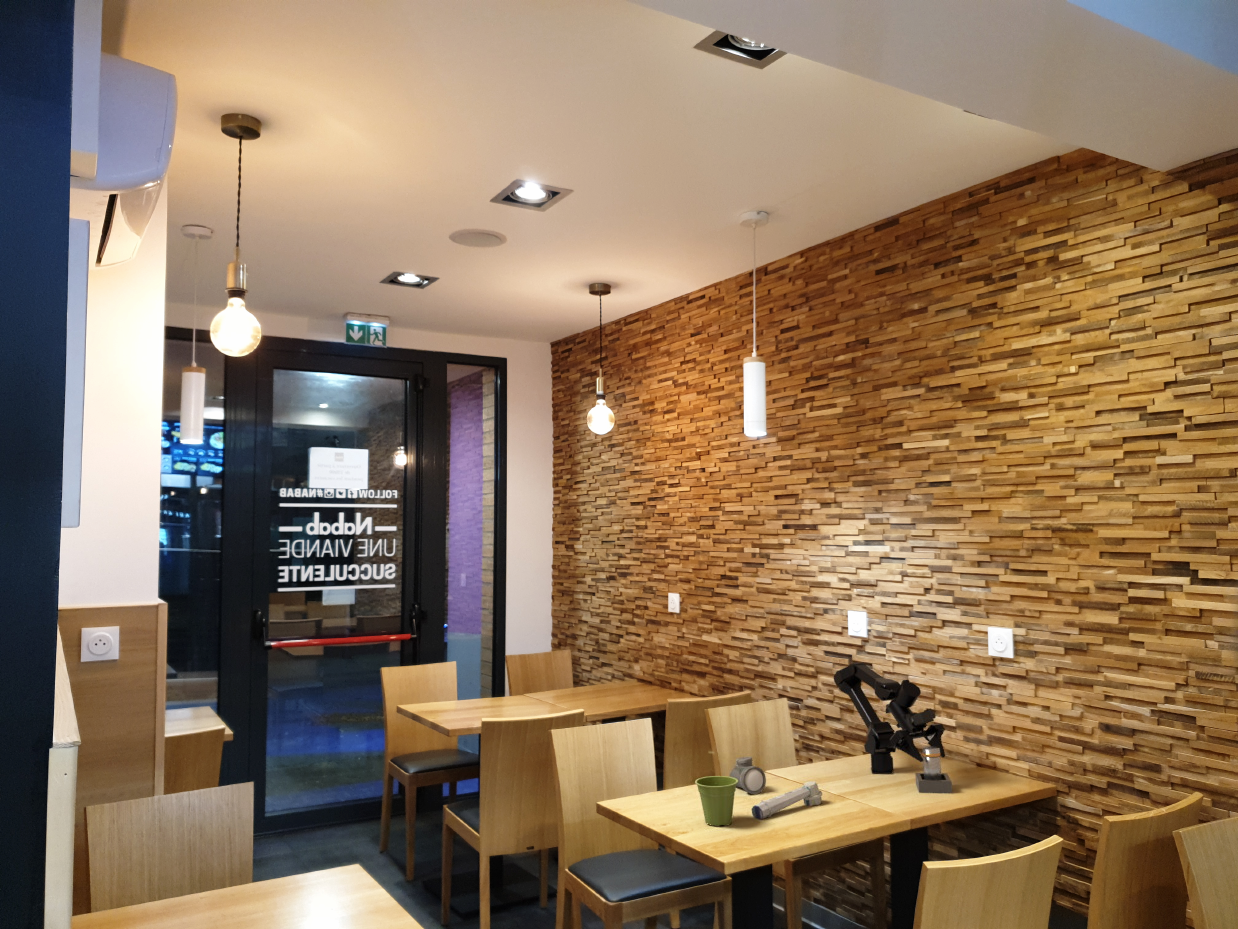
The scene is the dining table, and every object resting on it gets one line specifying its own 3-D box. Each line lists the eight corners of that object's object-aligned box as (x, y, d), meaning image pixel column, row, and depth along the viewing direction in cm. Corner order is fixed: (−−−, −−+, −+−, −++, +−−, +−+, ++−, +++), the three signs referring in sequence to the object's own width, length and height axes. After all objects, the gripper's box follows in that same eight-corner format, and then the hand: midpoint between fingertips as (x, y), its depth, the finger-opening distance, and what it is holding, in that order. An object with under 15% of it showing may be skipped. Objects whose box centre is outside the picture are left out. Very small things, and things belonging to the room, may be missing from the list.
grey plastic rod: (748, 803, 257) (810, 774, 272) (752, 827, 257) (813, 797, 272) (762, 807, 253) (823, 778, 267) (765, 831, 253) (827, 801, 267)
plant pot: (742, 817, 257) (740, 775, 258) (737, 830, 245) (735, 787, 246) (700, 815, 260) (698, 774, 261) (693, 828, 248) (692, 786, 249)
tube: (925, 790, 276) (922, 750, 277) (923, 786, 281) (920, 746, 282) (943, 791, 275) (940, 750, 276) (941, 786, 280) (938, 746, 281)
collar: (919, 792, 274) (918, 780, 275) (915, 784, 283) (915, 772, 284) (952, 793, 272) (951, 781, 273) (947, 785, 281) (947, 773, 282)
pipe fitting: (769, 791, 280) (763, 756, 282) (746, 797, 277) (740, 762, 279) (750, 786, 291) (744, 753, 293) (728, 792, 288) (722, 758, 290)
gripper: (894, 704, 280) (924, 747, 269) (938, 697, 288) (969, 739, 278) (877, 726, 286) (905, 769, 275) (921, 718, 295) (950, 760, 284)
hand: (933, 759), depth 278 cm, fingers open, 9 cm apart
